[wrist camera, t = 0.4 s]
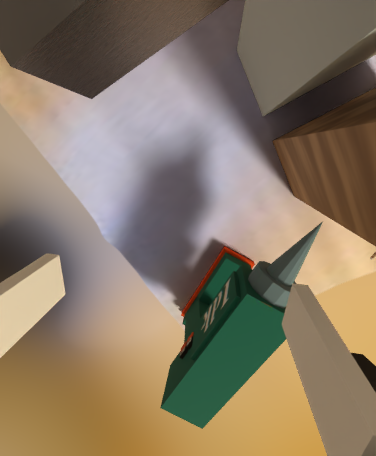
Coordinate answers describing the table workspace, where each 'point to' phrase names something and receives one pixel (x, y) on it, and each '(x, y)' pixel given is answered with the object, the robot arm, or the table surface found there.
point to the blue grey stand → (302, 45)
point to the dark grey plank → (91, 37)
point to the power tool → (230, 330)
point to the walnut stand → (336, 164)
